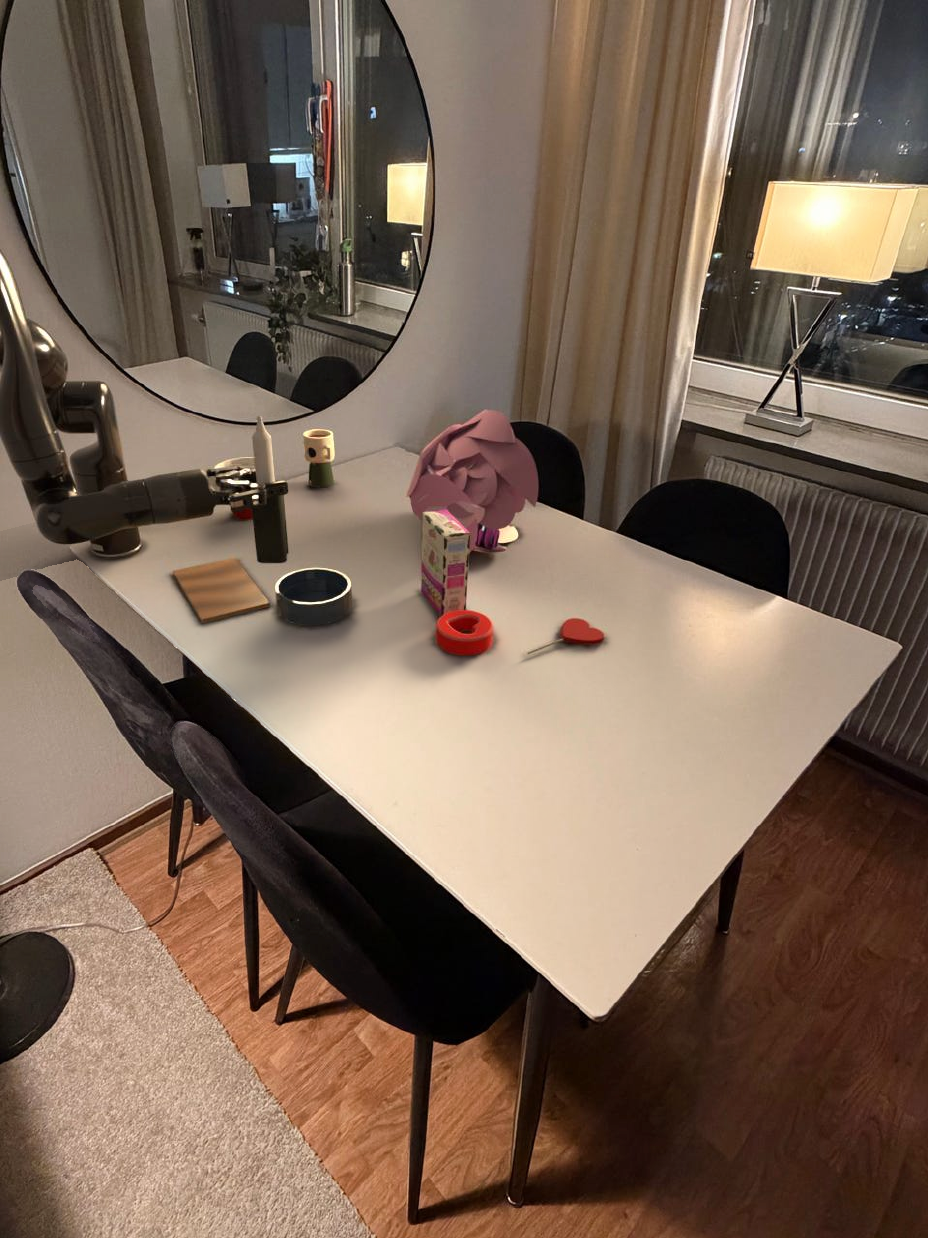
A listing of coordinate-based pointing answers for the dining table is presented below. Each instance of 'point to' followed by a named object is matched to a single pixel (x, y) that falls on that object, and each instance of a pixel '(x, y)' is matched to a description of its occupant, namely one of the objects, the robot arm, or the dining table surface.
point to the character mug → (319, 456)
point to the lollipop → (577, 634)
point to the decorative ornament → (464, 643)
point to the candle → (268, 504)
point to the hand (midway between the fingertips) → (279, 480)
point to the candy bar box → (444, 561)
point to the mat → (220, 590)
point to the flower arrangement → (477, 479)
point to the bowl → (313, 596)
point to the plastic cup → (246, 464)
